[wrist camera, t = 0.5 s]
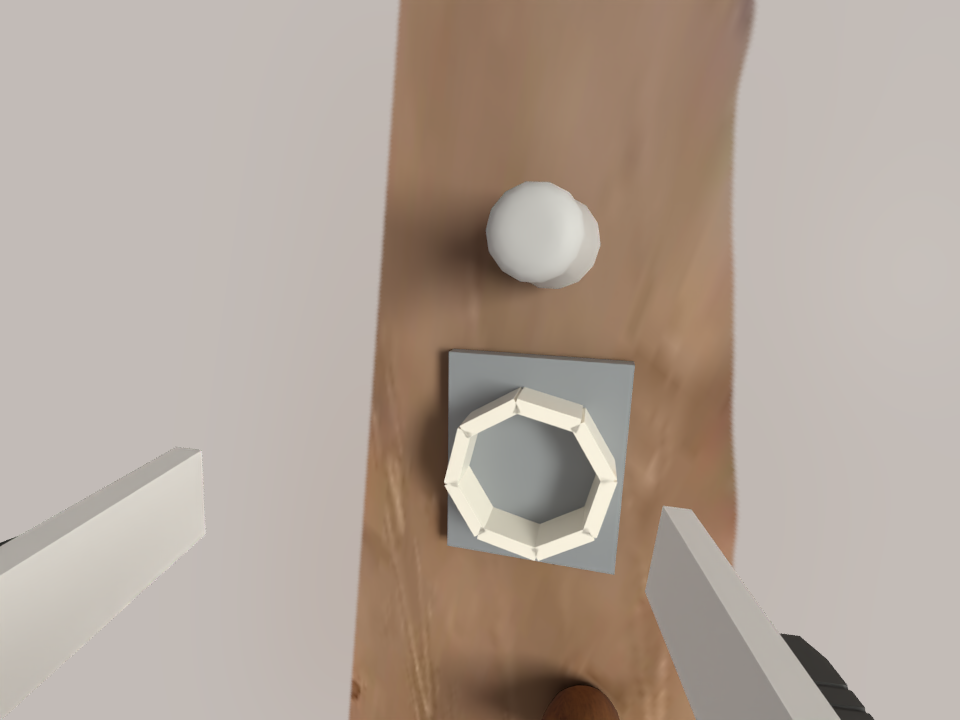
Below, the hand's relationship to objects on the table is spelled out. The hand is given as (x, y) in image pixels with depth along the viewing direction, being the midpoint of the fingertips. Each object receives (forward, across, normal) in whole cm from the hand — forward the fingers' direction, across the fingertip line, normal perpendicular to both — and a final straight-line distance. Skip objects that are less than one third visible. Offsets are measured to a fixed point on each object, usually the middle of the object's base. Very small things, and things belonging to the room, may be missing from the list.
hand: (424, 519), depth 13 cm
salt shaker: (+21, +5, +9) cm, 23 cm away
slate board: (+21, +5, -7) cm, 23 cm away
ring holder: (+20, +5, -7) cm, 22 cm away
